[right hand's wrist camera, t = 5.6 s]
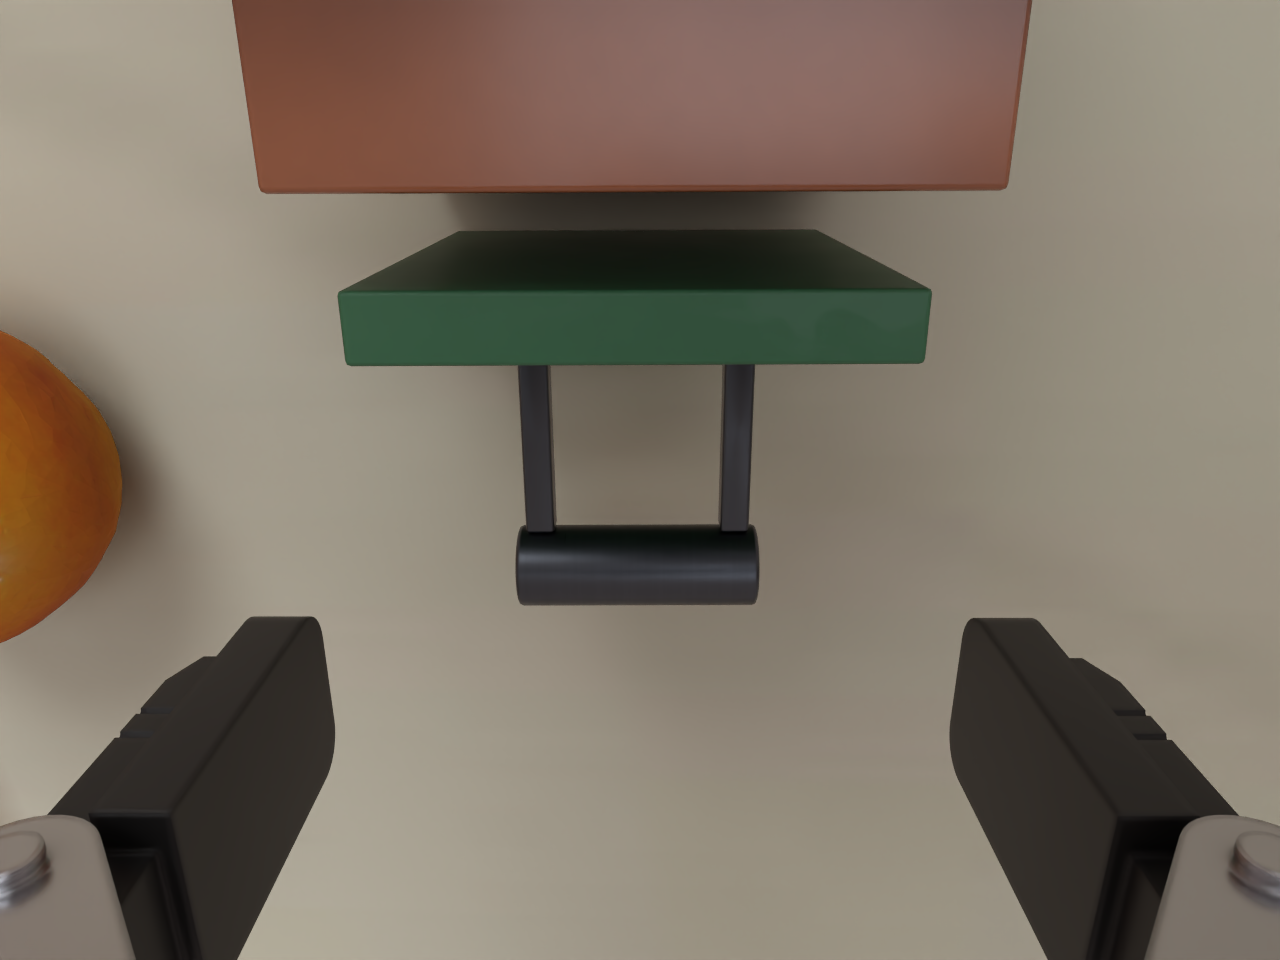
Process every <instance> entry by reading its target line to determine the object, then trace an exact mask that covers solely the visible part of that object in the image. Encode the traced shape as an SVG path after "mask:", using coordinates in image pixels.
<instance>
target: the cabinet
mask: <svg viewBox="0 0 1280 960" xmlns="http://www.w3.org/2000/svg"><path fill="white" fill-rule="evenodd" d="M232 4H233V11H234V18H235V25H236V31H237V38H238V45H239V52H240V59H241V66H242V73H243V80H244V87H245V94H246V101H247V108H248V115H249V122H250V128H251V135H252V142H253V149H254V156H255V163H256V170H257V177H258V184H259V188H260V190H261V192H264V193H266V194H351V193H559V192H768V191H976V190H1002V189H1005V188H1006V187H1007V185H1008V182H1009V174H1010V166H1011V159H1012V151H1013V143H1014V136H1015V128H1016V120H1017V113H1018V105H1019V97H1020V90H1021V82H1022V74H1023V67H1024V59H1025V51H1026V44H1027V36H1028V28H1029V21H1030V13H1031V5H1032V0H232Z"/></svg>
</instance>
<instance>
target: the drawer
mask: <svg viewBox="0 0 1280 960" xmlns="http://www.w3.org/2000/svg"><path fill="white" fill-rule="evenodd" d="M931 297H932V292H931V289H929V288H927V287H925V286H923V285H921V284H919V283H917V282H916V281H914V280H912V279H910V278H908V277H906V276H904V275H902V274H900V273H898V272H896V271H894V270H892V269H891V268H889V267H887V266H885V265H883V264H881V263H879V262H877V261H875V260H873V259H871V258H869V257H867V256H866V255H864V254H862V253H860V252H858V251H856V250H854V249H852V248H850V247H848V246H846V245H844V244H842V243H841V242H839V241H837V240H835V239H833V238H831V237H829V236H827V235H825V234H823V233H821V232H819V231H817V230H635V231H459V232H456V233H454V234H452V235H450V236H448V237H446V238H445V239H443V240H441V241H439V242H437V243H435V244H433V245H431V246H429V247H427V248H425V249H423V250H421V251H419V252H417V253H415V254H413V255H411V256H409V257H407V258H405V259H403V260H401V261H399V262H397V263H395V264H393V265H391V266H389V267H387V268H385V269H383V270H381V271H379V272H377V273H375V274H373V275H371V276H369V277H367V278H366V279H364V280H362V281H360V282H358V283H356V284H354V285H352V286H350V287H348V288H346V289H344V290H342V291H340V292H339V293H338V304H339V312H340V320H341V329H342V337H343V345H344V354H345V361H346V363H347V365H350V366H502V365H518V380H519V398H520V417H521V436H522V455H523V474H524V493H525V512H526V525H524V526H522V527H521V528H520V530H519V533H518V538H517V546H516V588H517V595H518V599H519V602H520V604H522V605H752V604H754V603H755V602H756V600H757V596H758V590H759V546H758V538H757V533H756V529H755V527H754V526H753V525H751V524H749V501H750V476H751V451H752V427H753V402H754V377H755V364H920V363H922V362H924V359H925V353H926V344H927V334H928V325H929V316H930V306H931ZM550 365H723V370H722V406H721V443H720V479H719V515H718V521H719V524H702V525H556V521H557V519H556V494H555V469H554V444H553V419H552V394H551V369H550Z"/></svg>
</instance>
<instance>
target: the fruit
mask: <svg viewBox="0 0 1280 960" xmlns="http://www.w3.org/2000/svg"><path fill="white" fill-rule="evenodd" d="M121 503H122V476H121V468H120V461H119V455H118V452H117V449H116V446H115V443H114V440H113V437H112V434H111V431H110V429H109V428H108V426H107V424H106V422H105V421H104V419H103V417H102V416H101V414H100V412H99V411H98V409H97V408H96V407H95V405H94V404H93V403H92V402H91V401H90V400H89V399H88V398H87V397H86V395H85V394H84V393H83V392H82V391H81V390H79V389H78V388H77V387H76V386H75V385H74V384H73V383H72V382H71V381H70V380H69V379H68V378H67V377H66V376H65V375H64V374H63V373H62V372H61V371H59V370H58V369H57V368H56V367H55V366H54V365H53V364H52V363H50V361H49V360H48V359H47V358H46V357H44V356H43V355H42V354H41V353H40V352H38V351H37V350H35V349H34V348H32V347H31V346H29V345H27V344H26V343H24V342H22V341H20V340H18V339H16V338H15V337H13V336H11V335H9V334H7V333H4V332H2V331H0V643H1V642H4V641H7V640H9V639H11V638H13V637H15V636H17V635H19V634H21V633H23V632H24V631H26V630H28V629H30V628H31V627H33V626H35V625H36V624H38V623H39V622H40V621H42V620H43V619H44V618H46V617H47V616H48V615H49V614H51V613H52V612H53V611H55V610H56V609H57V608H59V607H60V606H61V605H62V604H63V603H65V602H66V601H67V600H68V599H69V598H70V597H72V596H73V595H74V594H75V593H76V592H77V591H78V590H79V589H80V588H81V587H82V586H83V585H84V584H85V583H86V582H87V580H88V579H89V578H90V576H91V575H92V573H93V572H94V570H95V569H96V567H97V566H98V564H99V562H100V561H101V559H102V557H103V555H104V553H105V551H106V549H107V547H108V546H109V544H110V542H111V540H112V538H113V536H114V534H115V532H116V528H117V522H118V518H119V514H120V509H121Z"/></svg>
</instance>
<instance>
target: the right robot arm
mask: <svg viewBox="0 0 1280 960" xmlns="http://www.w3.org/2000/svg"><path fill="white" fill-rule="evenodd" d="M334 745H335V723H334V715H333V708H332V700H331V693H330V686H329V679H328V672H327V664H326V657H325V650H324V643H323V636H322V631H321V627H320V625H319V623H318V621H317V620H316V619H315V618H314V617H250V618H249V619H247V620H246V621H245V622H244V624H243V625H242V626H241V627H240V629H239V630H238V631H237V632H236V633H235V635H234V636H233V637H232V638H231V639H230V641H229V642H228V643H227V644H226V646H225V647H224V648H223V649H222V650H221V652H220V653H219V654H218V655H217V657H202V658H201V659H199V660H197V661H196V662H194V663H193V664H191V665H189V666H188V667H186V668H185V669H183V670H181V671H180V672H178V673H177V674H175V675H173V676H172V677H170V678H169V679H167V680H165V682H164V683H163V684H162V685H161V686H160V687H159V688H158V689H157V691H156V692H155V693H154V694H153V695H152V696H151V697H150V699H149V700H148V701H147V702H146V703H145V704H144V705H143V707H142V708H141V713H140V714H136V715H135V716H134V717H133V718H132V719H131V720H130V721H129V722H128V724H127V725H126V726H125V727H124V728H123V729H122V730H121V732H120V738H114V740H113V741H112V742H111V743H110V744H109V745H108V746H107V748H106V749H105V750H104V751H103V752H102V753H101V754H100V755H99V757H98V758H97V759H96V760H95V761H94V762H93V763H92V765H91V766H90V767H89V768H88V769H87V770H86V771H85V773H84V774H83V775H82V776H81V777H80V778H79V779H78V781H77V782H76V783H75V784H74V785H73V786H72V787H71V788H70V790H69V791H68V792H67V793H66V794H65V795H64V796H63V798H62V799H61V800H60V801H59V802H58V803H57V804H56V806H55V807H54V808H53V809H52V810H51V811H50V812H49V814H48V815H45V816H38V817H32V818H27V819H23V820H18V821H15V822H12V823H9V824H6V825H3V826H0V960H237V959H238V957H239V955H240V953H241V951H242V949H243V947H244V944H245V942H246V940H247V938H248V936H249V934H250V932H251V930H252V928H253V926H254V924H255V922H256V920H257V918H258V916H259V914H260V912H261V910H262V908H263V906H264V904H265V902H266V900H267V898H268V896H269V894H270V892H271V890H272V888H273V886H274V884H275V881H276V879H277V877H278V875H279V873H280V871H281V869H282V867H283V865H284V863H285V861H286V859H287V857H288V855H289V853H290V851H291V849H292V847H293V845H294V843H295V841H296V839H297V837H298V835H299V833H300V831H301V829H302V827H303V825H304V823H305V820H306V818H307V816H308V814H309V812H310V810H311V808H312V806H313V804H314V802H315V800H316V798H317V796H318V794H319V792H320V790H321V788H322V786H323V784H324V782H325V780H326V778H327V775H328V773H329V770H330V767H331V763H332V759H333V753H334ZM950 750H951V757H952V762H953V766H954V770H955V773H956V776H957V778H958V780H959V782H960V784H961V786H962V788H963V790H964V792H965V794H966V796H967V798H968V800H969V802H970V804H971V806H972V808H973V810H974V812H975V814H976V816H977V818H978V820H979V822H980V824H981V826H982V828H983V830H984V832H985V834H986V836H987V838H988V840H989V842H990V844H991V846H992V848H993V850H994V852H995V854H996V856H997V858H998V860H999V862H1000V864H1001V866H1002V868H1003V870H1004V872H1005V874H1006V876H1007V879H1008V881H1009V883H1010V885H1011V887H1012V889H1013V891H1014V893H1015V895H1016V897H1017V899H1018V901H1019V903H1020V905H1021V907H1022V909H1023V911H1024V913H1025V915H1026V917H1027V919H1028V921H1029V923H1030V925H1031V927H1032V929H1033V931H1034V933H1035V935H1036V937H1037V939H1038V941H1039V943H1040V945H1041V947H1042V949H1043V951H1044V953H1045V955H1046V957H1047V959H1048V960H1280V826H1277V825H1274V824H1271V823H1268V822H1265V821H1262V820H1257V819H1253V818H1248V817H1242V816H1239V815H1238V814H1237V813H1236V812H1235V811H1234V810H1233V809H1232V807H1231V806H1230V805H1229V804H1228V803H1227V802H1226V801H1225V800H1224V798H1223V797H1222V796H1221V795H1220V794H1219V793H1218V792H1217V791H1216V789H1215V788H1214V787H1213V786H1212V785H1211V784H1210V783H1209V782H1208V780H1207V779H1206V778H1205V777H1204V776H1203V775H1202V774H1201V772H1200V771H1199V770H1198V769H1197V768H1196V767H1195V766H1194V765H1193V763H1192V762H1191V761H1190V760H1189V759H1188V758H1187V757H1186V756H1185V754H1184V753H1183V752H1182V751H1181V750H1180V749H1179V748H1178V747H1177V745H1176V744H1175V743H1174V742H1173V741H1172V740H1167V738H1166V733H1165V732H1164V731H1163V730H1162V729H1161V727H1160V726H1159V725H1158V724H1157V723H1156V722H1155V721H1154V720H1153V718H1152V717H1151V716H1146V714H1145V709H1144V708H1143V707H1142V706H1141V705H1140V704H1139V703H1138V701H1137V700H1136V699H1135V698H1134V697H1133V696H1132V695H1131V694H1130V692H1129V691H1128V690H1127V689H1126V688H1125V687H1124V686H1123V685H1122V683H1121V682H1119V681H1118V680H1116V679H1114V678H1113V677H1111V676H1110V675H1108V674H1106V673H1105V672H1103V671H1102V670H1100V669H1098V668H1097V667H1095V666H1094V665H1092V664H1090V663H1089V662H1087V661H1086V660H1084V659H1082V658H1069V657H1068V656H1067V655H1066V654H1065V652H1064V651H1063V650H1062V649H1061V648H1060V646H1059V645H1058V644H1057V643H1056V642H1055V640H1054V639H1053V638H1052V637H1051V636H1050V634H1049V633H1048V632H1047V631H1046V629H1045V628H1044V627H1043V626H1042V625H1041V623H1040V622H1038V621H1037V620H1036V619H1034V618H972V619H970V620H969V621H968V622H967V624H966V626H965V629H964V632H963V637H962V643H961V650H960V657H959V665H958V672H957V679H956V686H955V693H954V700H953V707H952V714H951V721H950Z"/></svg>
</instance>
